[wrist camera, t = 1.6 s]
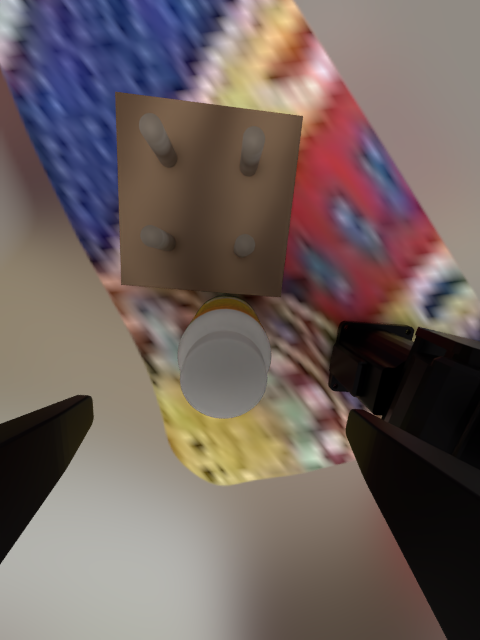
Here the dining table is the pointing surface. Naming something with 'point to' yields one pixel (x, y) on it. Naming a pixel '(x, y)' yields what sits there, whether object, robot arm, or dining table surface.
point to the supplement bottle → (224, 358)
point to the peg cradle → (204, 194)
